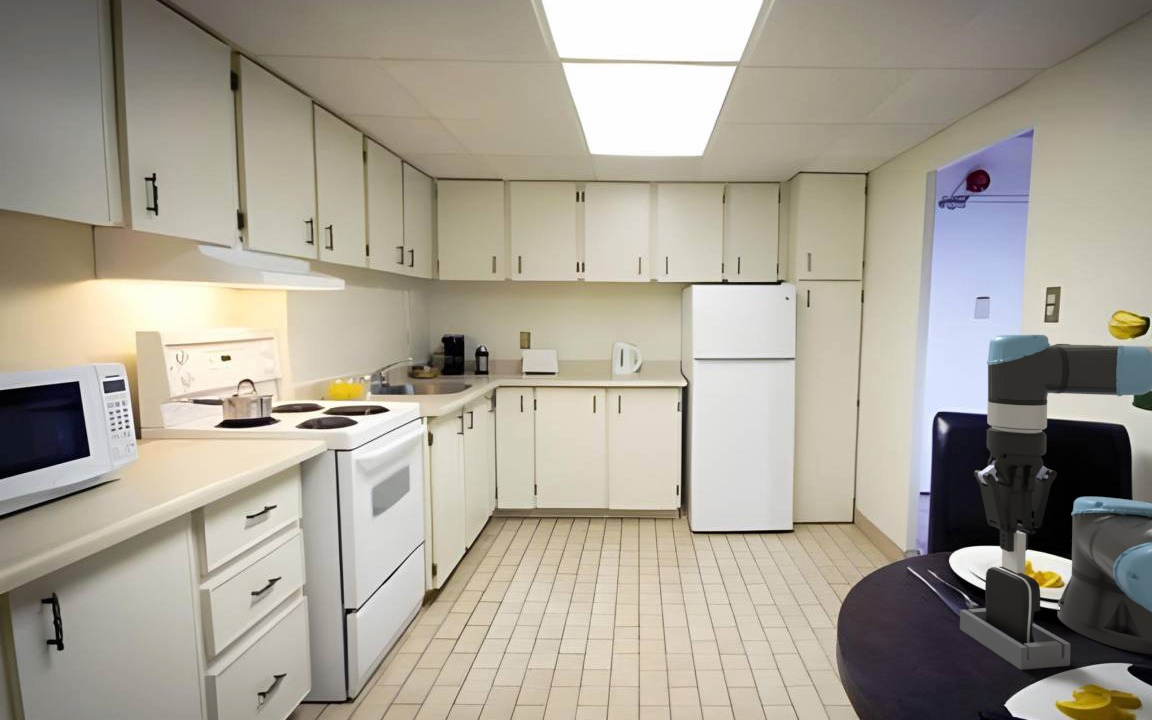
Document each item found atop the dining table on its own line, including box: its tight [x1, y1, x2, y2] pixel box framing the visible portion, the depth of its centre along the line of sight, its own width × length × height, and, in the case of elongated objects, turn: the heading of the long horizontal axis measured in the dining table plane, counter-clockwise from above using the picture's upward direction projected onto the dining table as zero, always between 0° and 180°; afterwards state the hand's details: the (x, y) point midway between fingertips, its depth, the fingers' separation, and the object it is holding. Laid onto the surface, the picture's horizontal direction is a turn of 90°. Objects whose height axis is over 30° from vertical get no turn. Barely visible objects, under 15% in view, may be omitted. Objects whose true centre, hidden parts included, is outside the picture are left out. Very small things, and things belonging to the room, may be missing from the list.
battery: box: [984, 565, 1041, 645], centre depth 88 cm, size 7×4×11 cm, turn 12°
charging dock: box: [959, 607, 1071, 671], centre depth 88 cm, size 8×12×4 cm
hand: (1013, 569), depth 88 cm, fingers closed
